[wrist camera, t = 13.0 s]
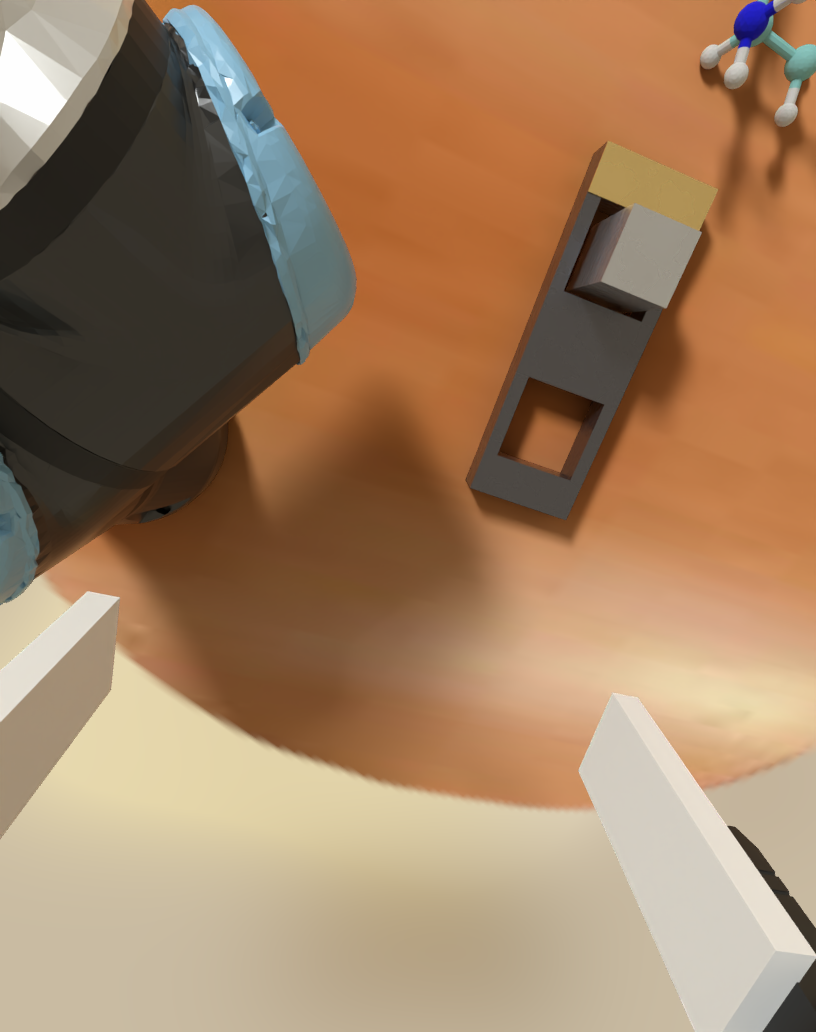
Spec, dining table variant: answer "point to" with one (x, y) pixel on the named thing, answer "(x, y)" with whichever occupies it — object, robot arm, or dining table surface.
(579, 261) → the light grey rectangular block
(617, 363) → the grey slotted frame
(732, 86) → the molecular model
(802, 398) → the dining table surface
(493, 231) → the dining table surface
